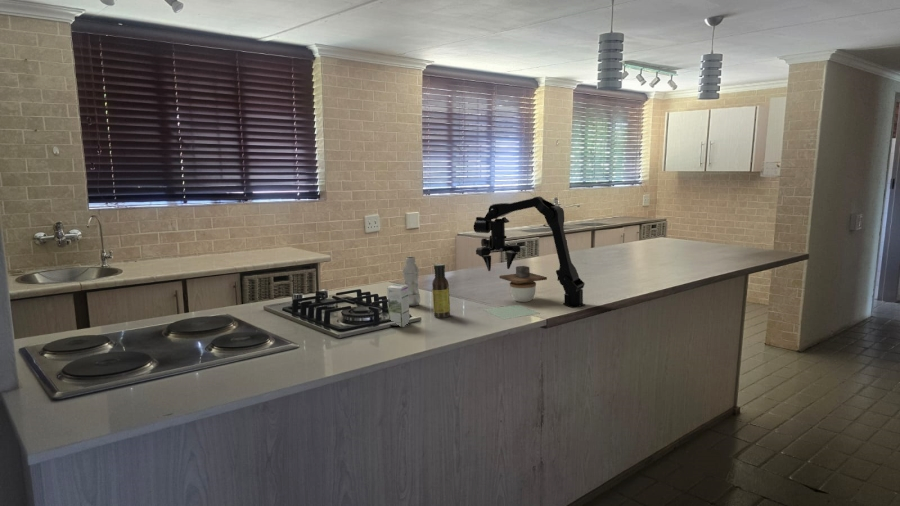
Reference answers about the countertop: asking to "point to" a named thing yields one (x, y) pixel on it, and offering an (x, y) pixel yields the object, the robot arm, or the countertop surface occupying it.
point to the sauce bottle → (440, 293)
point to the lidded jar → (523, 291)
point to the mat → (511, 311)
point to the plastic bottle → (412, 280)
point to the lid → (522, 276)
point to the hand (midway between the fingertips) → (498, 270)
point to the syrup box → (398, 304)
